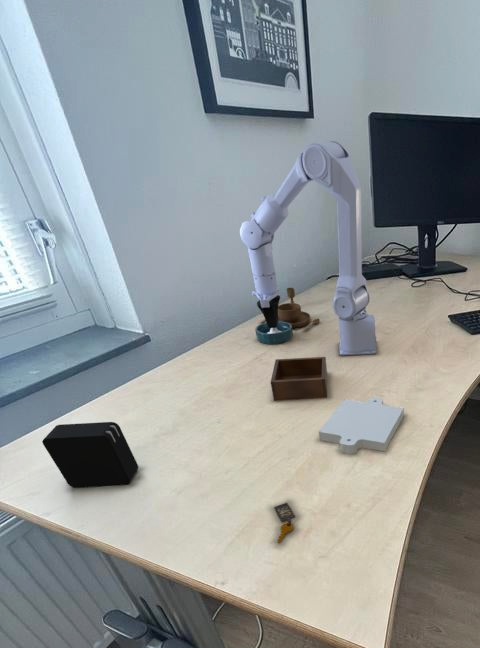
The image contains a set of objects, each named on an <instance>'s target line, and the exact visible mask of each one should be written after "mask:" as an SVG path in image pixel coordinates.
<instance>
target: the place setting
mask: <svg viewBox="0 0 480 648" xmlns="http://www.w3.org/2000/svg"><path fill="white" fill-rule="evenodd" d="M286 294H287V297H288V298H289V299H290V302H286V303H281V304H278V321H283V322H288V323H290V324H291V325H292V329H297V328H298V329H299V328H301V327H304V326H305V325H307V324H308V323H310V320H311V315H310V313H308V312H306V311H303V310H302V307H301V305H300V304H299V303H295V302H294V301H295V300H294V298H295V297H296V296H295V295H296V291H295V288H294V287H286ZM319 322H320V318H316V319H313V320H312V323H311V324H310V325H308V326H307V327H306V328H305V329H304V331H308V330H309V329H310V328H311V327H312V326H313V325H316V324H318V323H319ZM262 323H266V320H265V319H264V320H262V321H261V322H260V324H262Z"/></svg>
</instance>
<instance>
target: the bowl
mask: <svg viewBox="0 0 480 648" xmlns="http://www.w3.org/2000/svg"><path fill="white" fill-rule="evenodd" d="M254 328H255V329H254V331H255V335H256V339H257V341H258V342H260V343H262V344H265V345H278V344H283V343H286V342H288V341H290V340H292V338H293V336H294V331H293V328H292V325H291V324H290V323H288V322H283V321H278V323H277V327H276V328H277V329H278V330H279V331H282V332H280V333H271V334H268V332H270V330H271V328H269V327H268V325H267V322H266V321H265V322H263V323H260V324H258V325H256V326H255V327H254Z"/></svg>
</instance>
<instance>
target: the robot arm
mask: <svg viewBox="0 0 480 648" xmlns="http://www.w3.org/2000/svg"><path fill="white" fill-rule="evenodd" d="M313 181H314V182H316V183H318V184H319V185H321V186H323V187H325V188H326V189H327V190H328V191H329V192H330V193H331V194H332V195H333V196H334V197H335V200H336V219H337V243H338V244H337V246H338V271H339V272H338V279H337V282H336V285H335V294H334V297H333V298H332V309H333V311H334V313H335V315H336V316H337V317H338V328H339V329H338V330H339V339H340V340H339V341H340V342H339V343H338V346H339V350H338V351H339V356H355V355H356V356H357V355H374V354H377V336H376V320H375V319H376V318H375V315H374V314H369V313H367V306H368V305H369V303H370V301H371V297H370V291H369V289H368V285H367V279H366V278H365V276H364V275H363V271H362V270H363V267H362V266H363V263H362V262H363V261H362V260H363V259H362V257H363V256H362V255H363V254H362V252H363V251H362V250H363V249H362V247H363V245H362V244H363V243H362V241H363V239H362V185H361V183H360V181H359V177H358V174H357V173H356V171H355V168H354V166H353V163H352V155H351V153H350V152H349V151H348V149H346V148H345V147H344V145H342V143H340V142H339V141H336V140H330V141H327V142H310V143H308V144H307V145H306V147H305V148H304V150H303V151H302V152H301V153H300V154H299V155H298V156H297V158H296V160H295V163H294V165H293V167H292V168H291V169H290V171H289V172H288V174H287V176H286V177H285V179H284V181H283V182H282V184H281V185H280V187H279V188H278V190H277V192H276V193H275V194H268V195H264V196H262V197H261V199H260V202H261V204H260V205H259V207H258V209H256V211H255V212H252V213H251V215H250V220H246V221H243V222H242V223H241V226H240V228H239V236H240V239H241V242H242V243H243V245H244V246H245V247H247V252H248V257H249V261H250V262H249V263H250V268H251V273H252V278H253V283H254V287H255V290H252V291H251V295H252V296H254V297H255V296H256V297H257V299H258V300H257V302H256V306H257V308H258V309H259V311H260V312H261V313H262V315H263V317H264V320H266V321H265V323H266V322H267V325H268V327H269V328H276V327H277V323H278V306H279V305H280V300H281V295H280V289H279V288H278V287H279V286H278V282H277V281H278V280H277V274H276V269H275V263H274V256H273V251H272V250H273V241H274V239H275V233H276V231H277V230H278V229H279V228H280V226H281V225H282V224H283V223H284V222H285V220H286V219H287V218H288V216H289V210H288V208H289V206H290V204H291V203H292V202H293V201H294V200H295V198H296V197H297V196H298V195H299V194H300V193H301V191H302V190H304V188H305V187H306V186H307V185H308V184H309V183H310V182H313Z"/></svg>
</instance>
